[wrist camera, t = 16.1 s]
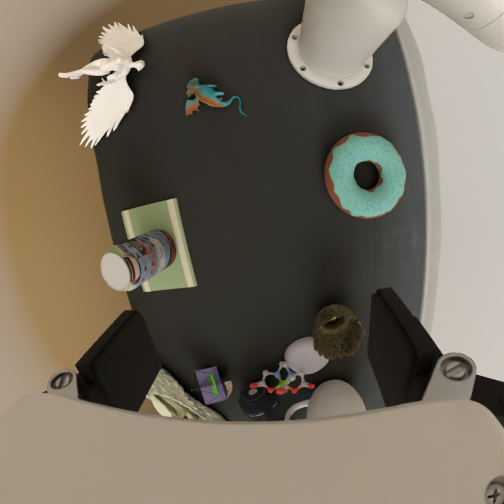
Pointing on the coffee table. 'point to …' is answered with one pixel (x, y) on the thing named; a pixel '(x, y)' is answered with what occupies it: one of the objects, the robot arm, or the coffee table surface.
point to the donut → (344, 184)
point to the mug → (330, 401)
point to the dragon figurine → (205, 96)
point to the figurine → (111, 80)
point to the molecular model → (283, 384)
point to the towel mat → (170, 221)
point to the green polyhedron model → (212, 385)
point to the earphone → (260, 404)
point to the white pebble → (304, 356)
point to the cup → (336, 332)
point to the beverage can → (137, 260)
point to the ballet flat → (177, 400)
